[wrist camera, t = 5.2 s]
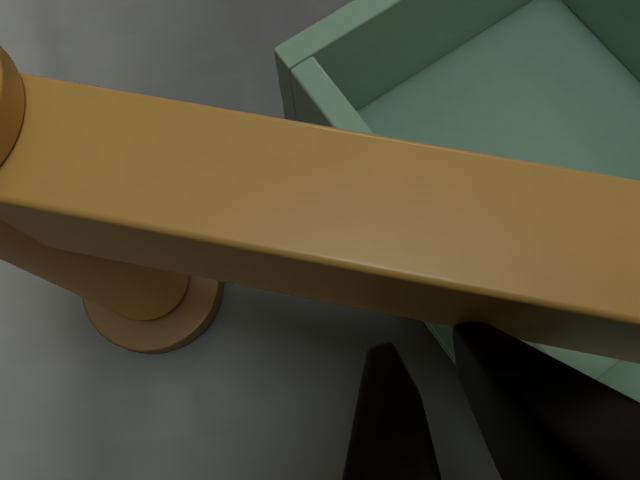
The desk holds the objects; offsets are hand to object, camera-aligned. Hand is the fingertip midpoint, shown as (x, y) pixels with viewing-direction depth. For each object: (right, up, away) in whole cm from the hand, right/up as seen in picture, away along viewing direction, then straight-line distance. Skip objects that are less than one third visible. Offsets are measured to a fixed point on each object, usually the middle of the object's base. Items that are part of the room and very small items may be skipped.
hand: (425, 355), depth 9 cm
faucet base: (-7, 0, +9) cm, 11 cm away
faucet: (-2, 0, +8) cm, 8 cm away
